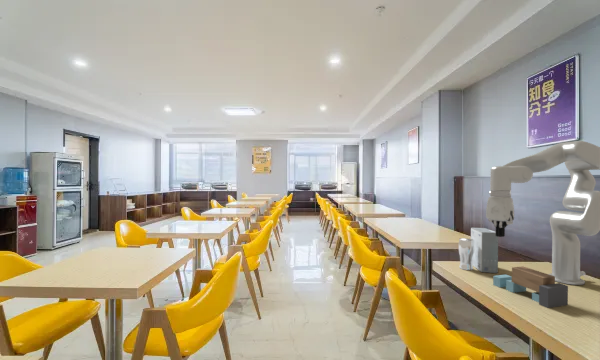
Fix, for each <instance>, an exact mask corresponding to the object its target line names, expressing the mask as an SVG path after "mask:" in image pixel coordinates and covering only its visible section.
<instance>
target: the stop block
mask: <svg viewBox="0 0 600 360" xmlns="http://www.w3.org/2000/svg"><path fill="white" fill-rule="evenodd" d="M568 298H569V285H568V284H564V283H560V282H557V283H555V284H548V285H540V286H539V302H538V306H542V307H544V308H547V309H551V308H557V307H563V306H567V305H569V304H568V303H569V301H568V300H569V299H568Z"/></svg>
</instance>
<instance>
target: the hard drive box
mask: <svg viewBox="0 0 600 360" xmlns="http://www.w3.org/2000/svg"><path fill="white" fill-rule="evenodd" d="M470 239H473V240H474V254H473V259H472V266H473V268H475V269H477V270H478V271H479V272H481V273H490V274H499V273H498V272H499V271H498V269H499V237H498V236H496V231H494V230H491V229H489V228H486V227H471V228H470Z"/></svg>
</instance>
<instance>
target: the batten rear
mask: <svg viewBox="0 0 600 360" xmlns="http://www.w3.org/2000/svg"><path fill="white" fill-rule="evenodd" d="M492 277H493V280H492V281H493V283H492V285H493V286H495V287H496V288H506V280H512V275H508V274H500V275H497V274H496V275H493V276H492Z"/></svg>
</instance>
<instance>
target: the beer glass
mask: <svg viewBox="0 0 600 360" xmlns="http://www.w3.org/2000/svg"><path fill="white" fill-rule="evenodd" d="M458 254H459V261H460V262H459V269H460V270H464V271H473V270H474V266H473V265H472V259H473V254H474V240H473V239H471V238H468V237H467V238H465V237H462V238H461V237H460V238H459V240H458Z"/></svg>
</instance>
